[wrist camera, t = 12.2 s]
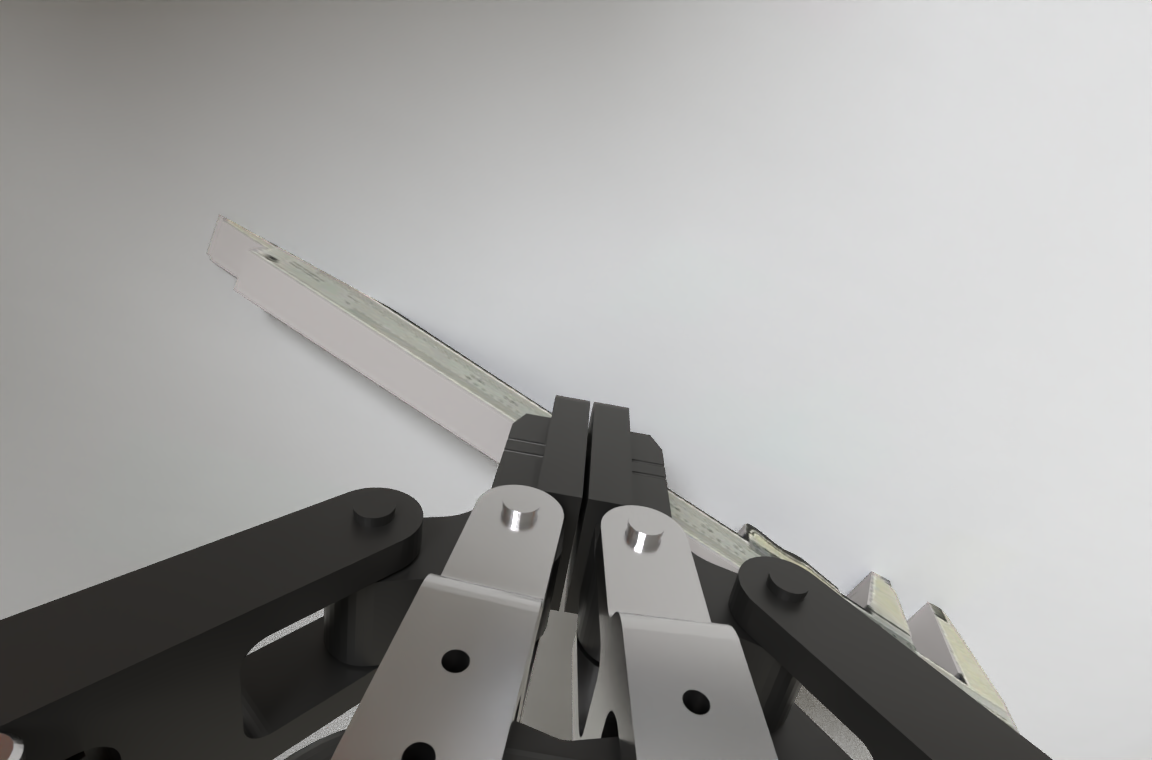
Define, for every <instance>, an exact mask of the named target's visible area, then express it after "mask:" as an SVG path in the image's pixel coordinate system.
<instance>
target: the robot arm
mask: <svg viewBox="0 0 1152 760" xmlns="http://www.w3.org/2000/svg"><path fill="white" fill-rule="evenodd" d="M589 409H590V401H586V400H580V399H575V398H569V397H563V396H558V395H556V397H555V402H554V407H553V412H552V417H551V418H549V417H544V416H538V415H533V414H527V413H526V414H525V415H524V416H522V417H521V418H519V419H518V420H517V421H515V422H514V423H512V427H511V430H510V433H509V436H508V440H507V442H506V445H505V448H504V451H503V454H502V457H501V460H500V463H499V467H498V470H497V473H496V476H495V479H494V482H493V485H492V488H491V489H490V490H488V491H486V492H485V493H483V494H482V495H481V496H480V497H479V499H478V500H477V502H476V504H475V506H474V508H473V510H472V511H469V512H467V513H464V514H460V515H455V516H448V517H429V518H423V511H422V508H421V506H420V504H419V503H418V502H417V501H416V500H415V499H414V498H412V497H411V496H409V495H407V494H405V493H403V492H400V491H397V490H393V489H389V488H364V489H359V490H354V491H351V492H348V493H345V494H342V495H340V496H337V497H334V498H332V499H329V500H326V501H323V502H321V503H318V504H315V505H313V506H310V507H307V508H304V509H302V510H299V511H296V512H293V513H291V514H288V515H285V516H283V517H280V518H277V519H274V520H272V521H269V522H266V523H264V524H261V525H258V526H255V527H253V528H250V529H247V530H244V531H242V532H239V533H236V534H234V535H231V536H228V537H225V538H223V539H220V540H217V541H215V542H212V543H209V544H206V545H204V546H201V547H198V548H196V549H193V550H190V551H187V552H185V553H182V554H179V555H176V556H174V557H171V558H168V559H166V560H163V561H160V562H157V563H155V564H152V565H149V566H147V567H144V568H141V569H138V570H136V571H133V572H130V573H127V574H125V575H122V576H119V577H117V578H114V579H111V580H108V581H106V582H103V583H100V584H98V585H95V586H92V587H89V588H87V589H84V590H81V591H78V592H76V593H73V594H70V595H68V596H65V597H62V598H59V599H57V600H54V601H51V602H49V603H46V604H43V605H40V606H38V607H35V608H32V609H29V610H27V611H24V612H21V613H19V614H16V615H13V616H10V617H8V618H5V619H2V620H0V760H272V759H274V758H276V757H277V756H279V755H280V754H282V753H283V752H285V751H286V750H288V749H289V748H291V747H292V746H294V745H296V744H297V743H299V742H300V741H302V740H303V739H305V738H306V737H308V736H309V735H311V734H312V733H314V732H316V731H317V730H319V729H320V728H322V727H323V726H325V725H326V724H328V723H329V722H331V721H333V720H334V719H336V718H337V717H339V716H340V715H342V714H343V713H345V712H346V711H348V710H349V709H351V708H353V707H354V706H356V705H357V704H359V703H360V704H359V706H358V708H357V710H356V711H355V713H354V715H353V717H352V719H351V721H350V723H349V725H348V727H347V729H345V730H342V731H339V732H336V733H334V734H331V735H329V736H327V737H324V738H322V739H319V740H317V741H315V742H313V743H311V744H310V745H308V746H306V747H304V748H302V749H300V750H299V751H297V752H295V753H294V754H292V755H290V756H289V757H287V758H286V759H284V760H852V759H851V758H850V757H849V756H848V755H847V754H846V753H845V752H844V751H843V750H842V749H841V748H840V747H839V746H838V745H837V744H836V743H835V742H834V741H833V740H832V739H831V738H830V737H829V736H828V735H827V734H826V733H825V732H824V731H823V730H822V729H821V728H820V727H819V726H818V725H817V724H816V723H814V722H813V721H812V720H811V719H810V718H809V717H808V716H807V715H806V714H805V713H804V712H803V711H802V710H801V709H800V708H799V707H798V706H797V705H796V704H795V703H794V701H795V699H796V696H797V694H798V692H799V690H800V687H801V685H803V686H804V687H805V688H806V689H807V690H808V691H809V692H811V693H812V694H813V695H814V696H815V697H816V698H817V699H818V700H819V701H820V702H821V703H822V704H823V705H824V706H825V707H826V708H828V709H829V710H830V711H831V712H832V713H833V714H834V715H835V716H836V717H837V718H838V719H839V720H840V721H841V722H842V723H844V724H845V725H846V726H847V727H848V728H849V729H850V730H851V731H852V732H853V733H854V734H855V735H856V736H857V737H858V738H859V739H860V740H861V741H862V742H863V743H864V744H865V746H866V747H867V748H868V750H869V751H870V753H871V755H872V757H873V759H874V760H1052V759H1051V758H1050V757H1049V756H1047V755H1046V754H1045V753H1043V752H1042V751H1041V750H1040V749H1038V748H1037V747H1036V746H1034V745H1033V744H1032V743H1031V742H1029V741H1028V740H1027V739H1025V738H1024V737H1023V736H1021V735H1020V734H1019V733H1018V732H1016V731H1015V730H1014V729H1012V728H1011V727H1010V726H1009V725H1007V724H1006V723H1005V722H1003V721H1002V720H1001V719H999V718H998V717H997V716H996V715H994V714H993V713H992V712H990V711H989V710H988V709H987V708H985V707H984V706H983V705H981V704H980V703H979V702H977V701H976V700H975V699H974V698H972V697H971V696H970V695H968V694H967V693H966V692H965V691H963V690H962V689H961V688H959V687H958V686H957V685H955V684H954V683H953V682H952V681H950V680H949V679H948V678H946V677H945V676H944V675H943V674H941V673H940V672H939V671H937V670H936V669H935V668H933V667H932V666H931V665H930V664H928V663H927V662H926V661H924V660H923V659H922V658H921V657H919V656H918V655H917V654H915V653H914V652H913V651H911V650H910V649H909V648H908V647H906V646H905V645H904V644H902V643H901V642H900V641H899V640H897V639H896V638H895V637H893V636H892V635H891V634H889V633H888V632H887V631H886V630H884V629H883V628H882V627H880V626H879V625H878V624H877V623H875V622H874V621H873V620H871V619H870V618H869V617H867V616H866V615H865V614H864V613H862V612H861V611H860V610H858V609H857V608H856V607H855V606H853V605H852V604H851V603H849V602H848V601H847V600H845V599H844V598H843V597H842V596H840V595H839V594H838V593H836V592H835V591H834V590H833V589H831V588H830V587H829V586H827V585H826V584H825V583H823V582H822V581H821V580H820V579H818V578H817V577H816V576H814V575H813V574H812V573H810V572H809V571H807V570H806V569H804V568H802V567H800V566H799V565H796V564H794V563H792V562H789V561H787V560H784V559H780V558H776V557H769V556H760V557H754V558H750V559H748V560H746V561H745V562H744V563H743V564H742V565H741V567H740V568H739V571H738V573H735V572H733V571H730V570H728V569H725V568H723V567H720V566H718V565H715V564H713V563H711V562H709V561H706V560H704V559H703V558H701V557H699V556H697V555H696V554H695V553H693V552H692V551H691V549H690V545H689V542H688V538H687V536H686V533H685V532H684V530H683V528H682V527H681V526H680V525H679V524H678V523H677V522H676V521H675V520H673V519H672V516H671V509H670V502H669V495H668V488H667V481H666V480H665V479H666V474H665V468H664V460H663V453H662V449H661V448H660V447H659V446H658V444H657V443H656V442H655V441H654V439H653V438H652V437H651V436H650V435H646V434H640V433H634V432H630V420H629V408H626V407H620V406H615V405H609V404H603V403H598V402H594V404H593V408H592V412H591V417H590V422H589V427H588V421H589ZM568 564H569V569H568ZM567 569H568V579H567V590H566V600H565V610H564V612H570V613H576V614H578V624H577V630H576V635H575V639H574V643H573V648H572V736H573V741H566V740H560V739H557V738H554V737H552V736H550V735H547V734H545V733H543V732H540V731H538V730H536V729H534V728H531V727H529V726H527V725H524V724H522V723H521V719H522V715H523V711H524V707H525V702H526V698H527V694H528V690H529V685H530V681H531V677H532V672H533V668H534V664H535V660H536V655H537V651H538V646H539V641H540V637H541V636H542V635H543V633H544V631H545V629H546V626H547V622H548V617H549V612H550V609H551V610H557V611H559V607H560V602H561V598H562V593H563V588H564V583H565V578H566V574H567ZM323 608H324V616H323V617H321V618H319V619H317V620H315V621H313V622H311V623H309V624H307V625H305V626H303V627H301V628H300V629H298V630H296V631H294V632H292V633H290V634H288V635H286V636H284V637H282V638H280V639H278V640H276V641H274V642H272V643H270V644H268V645H266V646H264V647H262V648H260V649H258V650H257V651H255V652H253V653H251V654H249V655H247V654H248V652H249V651H250V650H251V649H252V648H253V647H254V646H255V645H256V644H257V643H258V642H260V641H261V640H262V639H264V638H266V637H267V636H269V635H271V634H273V633H275V632H277V631H279V630H281V629H283V628H285V627H287V626H289V625H291V624H293V623H295V622H297V621H299V620H301V619H303V618H305V617H307V616H309V615H311V614H313V613H315V612H317V611H319V610H321V609H323ZM246 655H247V656H246Z"/></svg>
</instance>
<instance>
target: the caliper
mask: <svg viewBox="0 0 1152 760" xmlns="http://www.w3.org/2000/svg"><path fill="white" fill-rule="evenodd" d="M207 254H208V255H210V256H211V258H210V260H211V261H212V262H214V263H215V264H217V265H218V266H220V267H221V268H223V269H224V270H226V271H227V272H229V273H230V274H232V275H234V276H235V277H237V281H236V284H235V287H234V291H236V292H237V293H239V294H240V295H242V296H244V297H245V298H247V299H248V300H250V301H251V302H253V303H254V304H256V305H257V306H259V307H260V308H262V309H263V310H265V311H266V312H268V313H270V314H271V315H273V316H274V317H276V318H277V319H279V320H280V321H282V322H283V323H285V324H286V325H288V326H289V327H291V328H292V329H294V330H295V331H297V332H299V333H300V334H302V335H303V336H305V337H306V338H308V339H309V340H311V341H312V342H314V343H315V344H317V345H318V346H320V347H321V348H323V349H324V350H326V351H328V352H329V353H331V354H332V355H334V356H335V357H337V358H338V359H340V360H341V361H343V362H344V363H346V364H347V365H349V366H350V367H352V368H354V369H355V370H357V371H358V372H360V373H361V374H363V375H364V376H366V377H367V378H369V379H370V380H372V381H373V382H375V383H376V384H378V385H379V386H381V387H383V388H384V389H386V390H387V391H389V392H390V393H392V394H393V395H395V396H396V397H398V398H399V399H401V400H402V401H404V402H405V403H407V404H408V405H410V406H412V407H413V408H415V409H416V410H418V411H419V412H421V413H422V414H424V415H425V416H427V417H428V418H430V419H432V420H433V421H435V422H436V423H438V424H439V425H441V426H442V427H444V428H445V429H447V430H448V431H450V432H452V433H453V434H455V435H456V436H458V437H459V438H461V439H462V440H464V441H465V442H467V443H468V444H470V445H472V446H473V447H475V448H476V449H478V450H479V451H481V452H482V453H484V454H485V455H487V456H488V457H490V458H491V459H493V460H495V461H496V462H498V463H500V460H501V457H502V454H503V451H504V448H505V445H506V442H507V440H508V436H509V433H510V430H511V427H512V423H514V422H515V421H517V420H518V419H519V418H521V417H522V416H524V415H525V414H526V413H527V414H533V415H538V416H544V417H549V418H551V417H552V413H551V412H549V411H547V410H546V409H544V408H543V407H541V406H540V405H538V404H537V403H535V402H534V401H532V400H531V399H529V398H527V397H526V396H524V395H523V394H521V393H520V392H518V391H517V390H515V389H514V388H512V387H511V386H509V385H508V384H506V383H505V382H503V381H502V380H500V379H498V378H497V377H495V376H494V375H492V374H491V373H489V372H488V371H486V370H485V369H483V368H482V367H480V366H479V365H477V364H476V363H474V362H472V361H471V360H469V359H468V358H466V357H465V356H463V355H462V354H460V353H459V352H457V351H456V350H454V349H453V348H451V347H450V346H448V345H446V344H445V343H443V342H442V341H440V340H439V339H437V338H436V337H434V336H433V335H431V334H430V333H428V332H427V331H425V330H424V329H422V328H420V327H419V326H417V325H416V324H414V323H413V322H411V321H410V320H408V319H407V318H405V317H404V316H402V315H401V314H399V313H398V312H396V311H394V310H393V309H391V308H389V307H388V306H386V305H384V304H382V303H380V302H378V301H377V300H375V299H373V298H371V297H369V296H367V295H366V294H364V293H362V292H360V291H358V290H357V289H355V288H353V287H351V286H349V285H347V284H346V283H344V282H342V281H340V280H338V279H336V278H335V277H333V276H331V275H329V274H327V273H325V272H324V271H322V270H320V269H318V268H316V267H314V266H313V265H311V264H309V263H307V262H305V261H303V260H302V259H300V258H298V257H296V256H294V255H293V254H291V253H289V252H287V251H285V250H283V249H282V248H280V247H278V246H276V245H274V244H272V243H271V242H269V241H267V240H265V239H263V238H261V237H260V236H258V235H256V234H254V233H252V232H250V231H249V230H247V229H245V228H243V227H241V226H239V225H238V224H236V223H234V222H232V221H230V220H228V219H227V218H225V217H223V216H221V215H219V217H218V220H217V223H216V226H215V229H214V232H213V235H212V238H211V241H210V244H209V248H208V251H207ZM668 495H669V502H670V509H671V516H672V519H673V520H675V521H676V522H677V523H678V524H679V525H680V526H681V527H682V528H683V530H684V532H685V533H686V536H687V538H688V542H689V545H690V549H691V551H692V552H693V553H695V554H696V555H697V556H699V557H701V558H703V559H704V560H706V561H709V562H711V563H713V564H715V565H718V566H720V567H723V568H725V569H728V570H730V571H733V572H735V573H738V571H739V568H740V567H741V565H742V564H743V563H744V562H745V561H746V560H748V559H750V558H754V557H760V556H769V557H776V558H780V559H784V560H787V561H789V562H792V563H794V564H796V565H799V566H800V567H802V568H804V569H806V570H807V571H809V572H810V573H812V574H813V575H814V576H816V577H817V578H818V579H820V580H821V581H822V582H823V583H825V584H826V585H827V586H829V587H830V588H831V589H833V590H834V591H835V592H836V593H838V594H839V595H840V596H842V597H843V598H844V599H845V600H847V601H848V602H849V603H851V604H852V605H853V606H855V607H856V608H857V609H858V610H860V611H861V612H862V613H864V614H865V615H866V616H867V617H869V618H870V619H871V620H873V621H874V622H875V623H877V624H878V625H879V626H880V627H882V628H883V629H884V630H886V631H887V632H888V633H889V634H891V635H892V636H893V637H895V638H896V639H897V640H899V641H900V642H901V643H902V644H904V645H905V646H906V647H908V648H909V649H910V650H911V651H913V652H914V653H915V654H917V655H918V656H919V657H921V658H922V659H923V660H924V661H926V662H927V663H928V664H930V665H931V666H932V667H933V668H935V669H936V670H937V671H939V672H940V673H941V674H943V675H944V676H945V677H946V678H948V679H949V680H950V681H952V682H953V683H954V684H955V685H957V686H958V687H959V688H961V689H962V690H963V691H965V692H966V693H967V694H968V695H970V696H971V697H972V698H974V699H975V700H976V701H977V702H979V703H980V704H981V705H983V706H984V707H985V708H987V709H988V710H989V711H990V712H992V713H993V714H994V715H996V716H997V717H998V718H999V719H1001V720H1002V721H1003V722H1005V723H1006V724H1007V725H1009V726H1010V727H1011V728H1012V729H1014V730H1015V731H1016V732H1018V733H1019V731H1018V729H1017V727H1016V725H1015V723H1014V721H1013V719H1012V717H1011V715H1010V713H1009V711H1008V709H1007V706H1006V704H1005V702H1004V701H1003V699H1002V698H1001V696H1000V695H999V693H998V692H997V690H996V689H995V687H994V686H993V684H992V683H991V681H990V680H989V678H988V677H987V675H986V674H985V672H984V671H983V669H982V668H981V666H980V665H979V663H978V661H977V660H976V658H975V657H974V655H973V654H972V652H971V651H970V649H969V648H968V646H967V645H966V643H965V642H964V640H963V639H962V637H961V636H960V634H959V633H958V631H957V630H956V628H955V627H954V626H953V624H952V623H951V621H950V620H949V618H948V617H947V615H946V614H945V613H944V612H943V611H942V610H941V609H940V608H938V607H936V606H935V605H933V604H931V603H929V602H927V603H926V604H925V605H924V606H923V607H922V608H921V609H920V610H919V611H917V612H916V613H915V614H914V615H913V616H912V617H911V618H910V619H909V620H908V621H906V618H905V615H904V613H903V610H902V607H901V605H900V602H899V599H898V596H897V594H896V592H895V591H894V590H893V589H892V587H891V584H890V581H889V580H887V579H885V578H883V577H881V576H880V575H878V574H876V573H874V572H871V573H870V574H869V575H868V576H866V577H865V578H864V579H863V580H862V581H861V582H860V583H859V584H858V585H857V586H856V587H855V588H854V589H853V590H852V591H851V592H850V593H849V594H848V595H847V597H846V596H844V595H843V594H841V593H840V591H839V590H838V588H837V587H836V586H835V585H833V584H832V583H831V582H830V581H829V580H827V579H826V578H825V577H824V576H822V575H821V574H820V573H819V572H818V571H816V570H815V569H814V568H813V567H812V566H810V565H809V564H808V563H807V562H806V561H804V560H803V559H802V558H800V557H798V556H797V555H795V554H793V553H791V552H788V551H786V550H784V549H782V548H781V547H780V546H778V545H777V544H775V543H774V542H773V541H771V540H770V539H769V538H768V537H767V536H765V535H764V534H763V533H762V532H760V531H759V530H758V529H756V528H755V527H753V526H752V525H750V524H745V525H744V526H743V527H742V528H741V529H740V531H739V532H738V533H736V532H734V531H733V530H731V529H730V528H728V527H726V526H725V525H723V524H722V523H720V522H719V521H717V520H716V519H714V518H713V517H711V516H710V515H708V514H706V513H705V512H703V511H702V510H700V509H699V508H697V507H696V506H694V505H693V504H691V503H689V502H688V501H686V500H685V499H683V498H682V497H680V496H679V495H677V494H676V493H674V492H672V491H671V490H669V489H668ZM1019 734H1020V733H1019Z"/></svg>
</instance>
